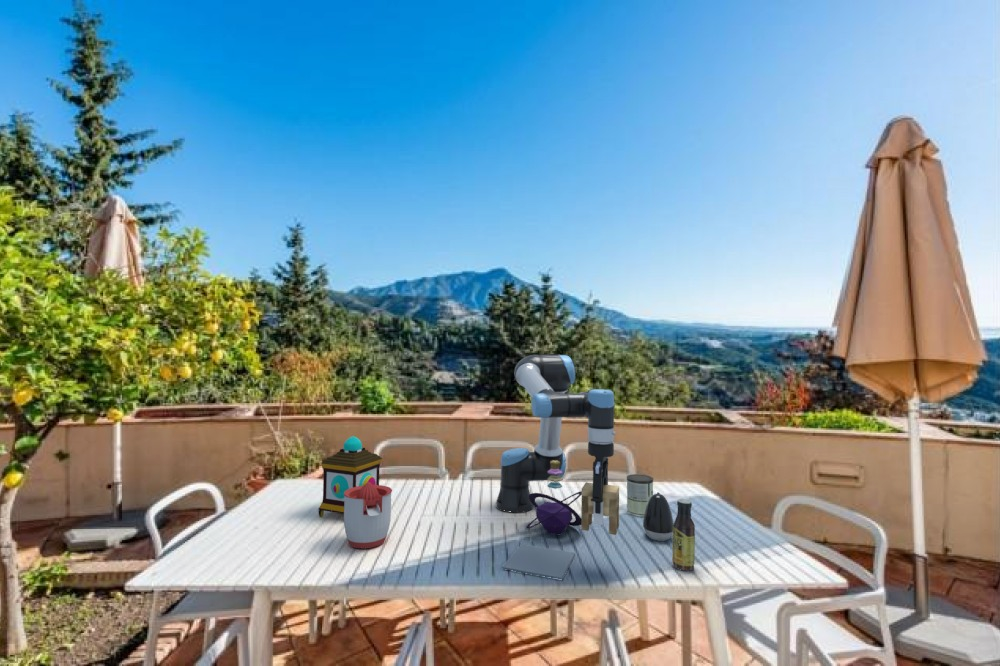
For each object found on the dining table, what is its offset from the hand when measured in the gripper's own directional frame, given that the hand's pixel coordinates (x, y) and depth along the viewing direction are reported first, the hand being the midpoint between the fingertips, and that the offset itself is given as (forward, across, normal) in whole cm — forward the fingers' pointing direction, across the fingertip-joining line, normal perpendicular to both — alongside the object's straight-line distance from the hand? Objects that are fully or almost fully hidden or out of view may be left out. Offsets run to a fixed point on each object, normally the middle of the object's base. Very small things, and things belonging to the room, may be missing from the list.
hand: (600, 519), depth 140 cm
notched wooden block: (+3, 0, 0) cm, 3 cm away
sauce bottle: (+15, +11, -23) cm, 29 cm away
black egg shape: (+15, +32, -15) cm, 38 cm away
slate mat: (+15, -2, +18) cm, 23 cm away
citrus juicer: (+15, -10, +75) cm, 77 cm away
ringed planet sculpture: (+15, +24, +20) cm, 34 cm away
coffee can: (+15, +57, -7) cm, 59 cm away
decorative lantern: (+16, +12, +99) cm, 101 cm away
